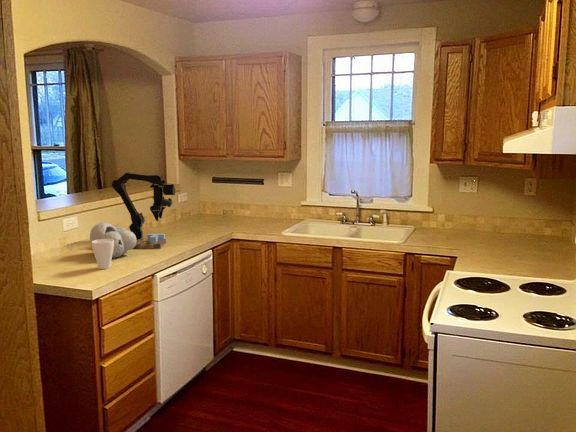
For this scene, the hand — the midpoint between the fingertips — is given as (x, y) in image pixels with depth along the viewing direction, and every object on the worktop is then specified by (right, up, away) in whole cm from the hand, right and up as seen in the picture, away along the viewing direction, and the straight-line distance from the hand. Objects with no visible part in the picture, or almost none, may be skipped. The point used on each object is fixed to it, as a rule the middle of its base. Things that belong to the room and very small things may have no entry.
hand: (158, 219), depth 328 cm
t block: (0, -13, -8) cm, 16 cm away
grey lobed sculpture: (-16, -19, -41) cm, 48 cm away
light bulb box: (-20, -16, -20) cm, 32 cm away
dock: (0, -15, -20) cm, 25 cm away
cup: (-10, -24, -67) cm, 72 cm away
